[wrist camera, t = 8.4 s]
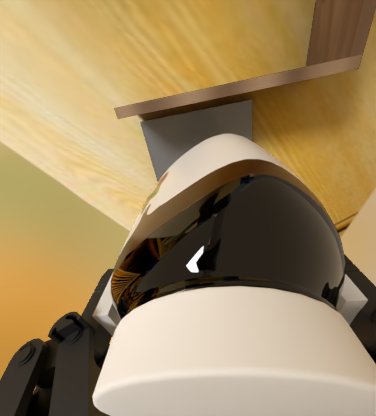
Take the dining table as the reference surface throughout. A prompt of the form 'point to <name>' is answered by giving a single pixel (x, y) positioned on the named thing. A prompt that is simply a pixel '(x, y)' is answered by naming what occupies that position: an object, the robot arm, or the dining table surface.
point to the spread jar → (232, 297)
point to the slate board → (193, 131)
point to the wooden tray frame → (315, 67)
